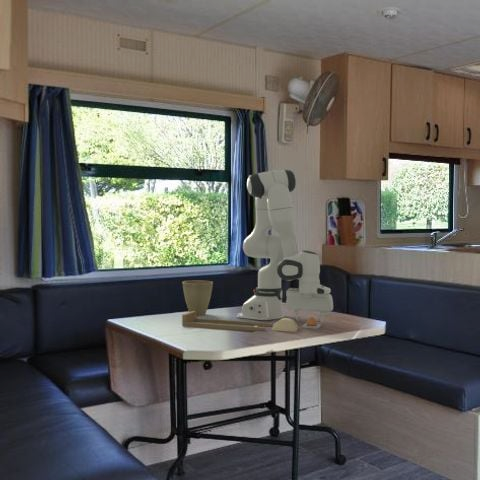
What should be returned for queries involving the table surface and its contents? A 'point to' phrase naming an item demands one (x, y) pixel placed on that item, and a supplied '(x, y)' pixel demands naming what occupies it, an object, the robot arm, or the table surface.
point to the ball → (311, 321)
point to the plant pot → (197, 295)
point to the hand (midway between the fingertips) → (309, 321)
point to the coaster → (311, 326)
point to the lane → (237, 324)
